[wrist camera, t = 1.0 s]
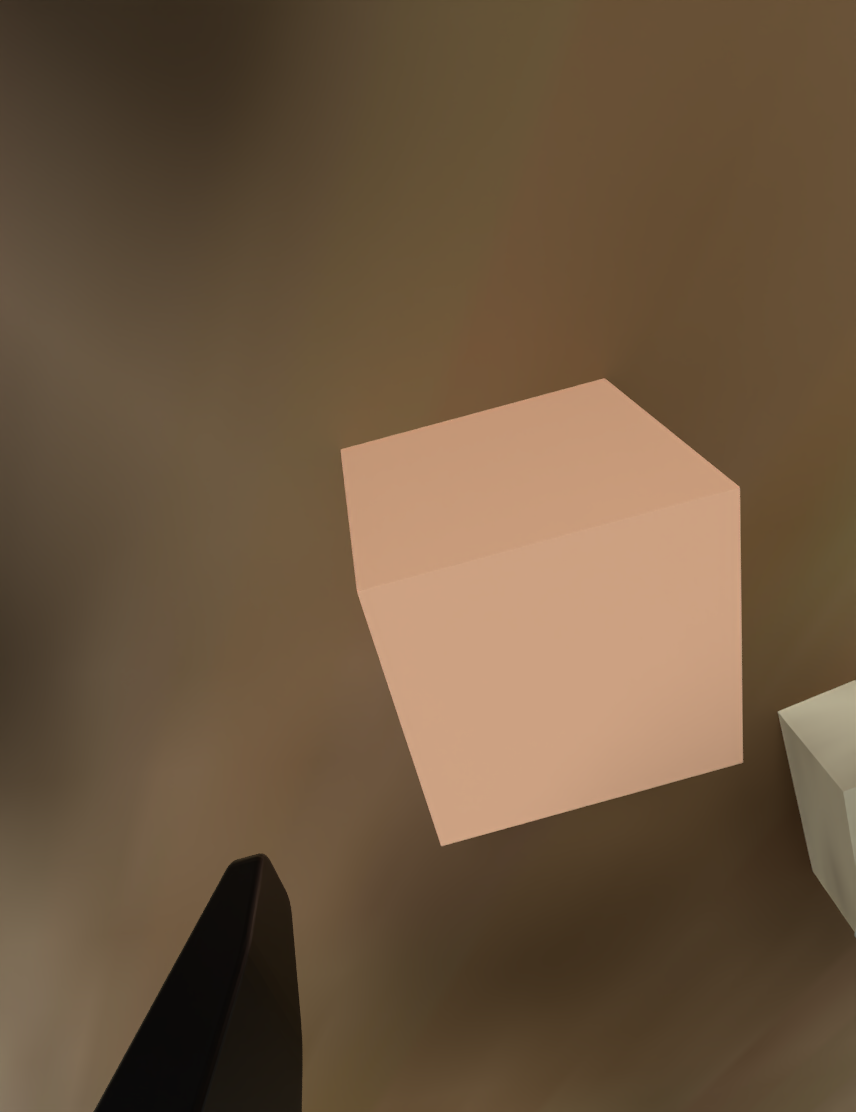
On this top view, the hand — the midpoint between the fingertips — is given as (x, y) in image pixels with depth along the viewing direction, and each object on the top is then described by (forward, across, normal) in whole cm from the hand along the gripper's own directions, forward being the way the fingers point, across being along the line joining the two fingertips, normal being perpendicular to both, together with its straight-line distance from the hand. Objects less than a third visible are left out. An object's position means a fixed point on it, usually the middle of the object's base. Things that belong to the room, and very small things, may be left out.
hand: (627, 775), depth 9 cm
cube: (+7, 0, 0) cm, 7 cm away
